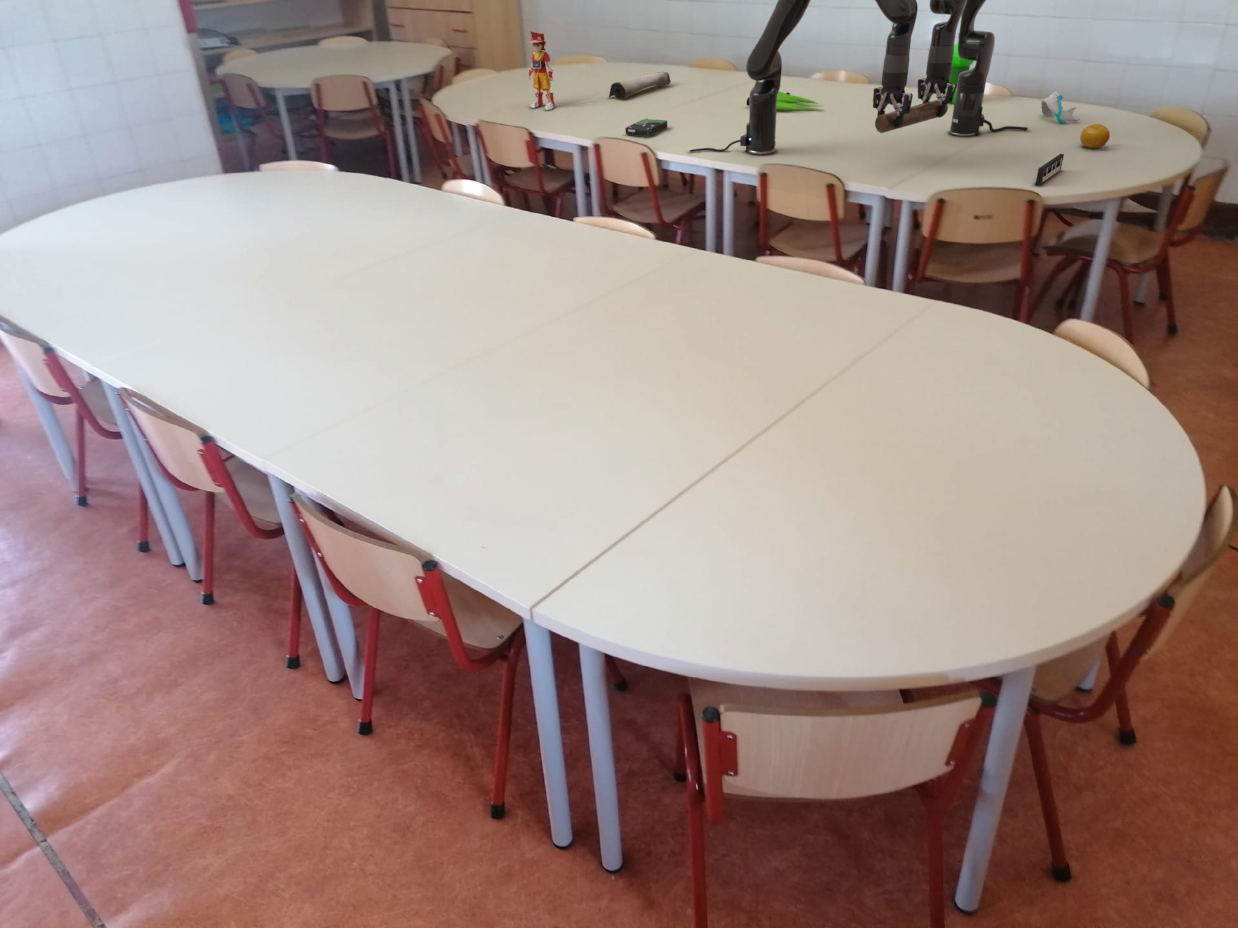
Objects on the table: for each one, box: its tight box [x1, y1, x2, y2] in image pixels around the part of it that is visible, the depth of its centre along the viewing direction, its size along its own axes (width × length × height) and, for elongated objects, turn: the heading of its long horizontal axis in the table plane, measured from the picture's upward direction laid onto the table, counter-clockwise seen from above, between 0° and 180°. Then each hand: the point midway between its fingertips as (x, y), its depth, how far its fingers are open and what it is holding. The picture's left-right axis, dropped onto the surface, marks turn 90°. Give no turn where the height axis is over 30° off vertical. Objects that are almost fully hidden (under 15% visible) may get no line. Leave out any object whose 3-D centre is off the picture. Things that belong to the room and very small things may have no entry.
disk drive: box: [624, 118, 668, 137], centre depth 342 cm, size 10×3×15 cm
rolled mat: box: [608, 71, 672, 101], centre depth 395 cm, size 30×9×10 cm
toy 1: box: [527, 31, 556, 111], centre depth 374 cm, size 12×9×30 cm
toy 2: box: [745, 91, 821, 111], centre depth 360 cm, size 28×5×30 cm
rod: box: [874, 99, 949, 134], centre depth 287 cm, size 28×5×5 cm, turn 123°
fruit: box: [1079, 123, 1111, 149], centre depth 296 cm, size 8×8×8 cm
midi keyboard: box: [1035, 153, 1065, 186], centre depth 273 cm, size 18×1×5 cm, turn 138°
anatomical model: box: [1040, 91, 1081, 124], centre depth 325 cm, size 15×10×10 cm
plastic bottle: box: [946, 34, 974, 104], centre depth 348 cm, size 10×10×25 cm
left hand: (889, 125), depth 283 cm, fingers open, 6 cm apart
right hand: (932, 115), depth 292 cm, fingers closed on rod, 5 cm apart
